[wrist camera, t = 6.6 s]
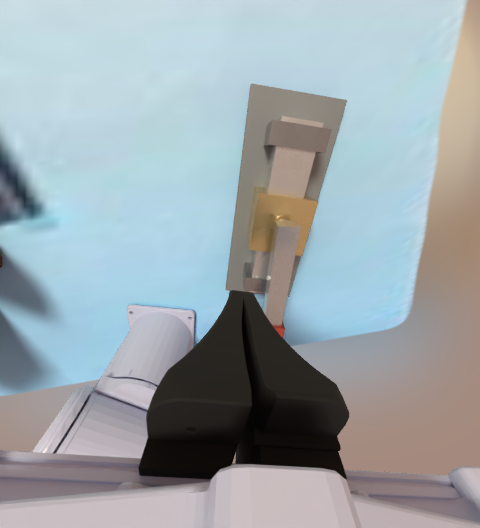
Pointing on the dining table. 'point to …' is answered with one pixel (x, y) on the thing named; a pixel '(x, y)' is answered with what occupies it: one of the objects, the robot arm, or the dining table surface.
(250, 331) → the robot arm
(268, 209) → the pipe and valve
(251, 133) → the board
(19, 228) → the dining table surface
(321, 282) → the dining table surface
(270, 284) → the valve lever
